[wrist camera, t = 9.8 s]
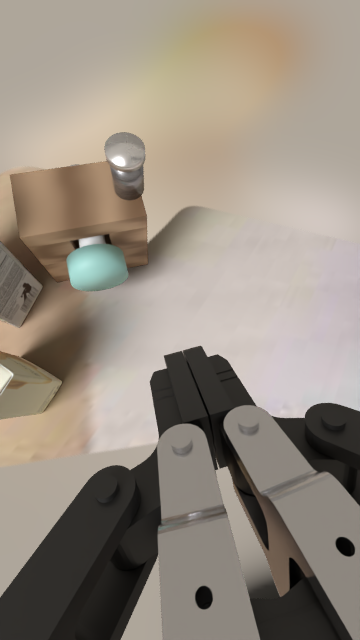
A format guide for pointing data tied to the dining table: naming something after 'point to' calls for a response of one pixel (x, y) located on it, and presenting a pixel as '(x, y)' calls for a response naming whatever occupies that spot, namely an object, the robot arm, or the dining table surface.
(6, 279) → the coffee box
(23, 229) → the mount
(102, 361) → the dining table surface
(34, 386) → the skincare box
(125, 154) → the dial post
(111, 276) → the knob
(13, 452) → the dining table surface
